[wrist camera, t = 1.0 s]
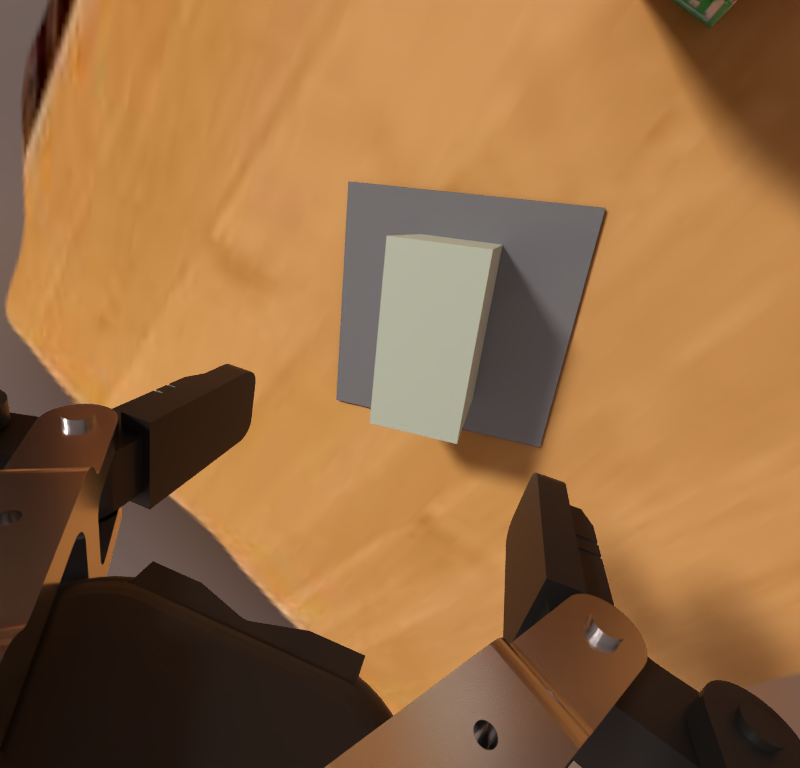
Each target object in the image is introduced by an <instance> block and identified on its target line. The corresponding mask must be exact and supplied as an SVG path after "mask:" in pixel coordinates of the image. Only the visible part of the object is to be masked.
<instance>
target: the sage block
mask: <svg viewBox="0 0 800 768" xmlns="http://www.w3.org/2000/svg"><path fill="white" fill-rule="evenodd" d="M501 250H502V244H495V243H487V242H479V241H471V240H463V239H456V238H448V237H440V236H432V235H424V234H411V235H390V236H387V237H386V248H385V259H384V270H383V281H382V292H381V303H380V314H379V325H378V336H377V347H376V358H375V369H374V380H373V391H372V402H371V413H370V423H372V424H376V425H380V426H384V427H388V428H393V429H397V430H401V431H405V432H409V433H413V434H417V435H421V436H426V437H430V438H434V439H438V440H442V441H446V442H450V443H454V444H457V442H458V439H459V437H460V434H461V431H462V428H463V425H464V422H465V419H466V417H467V414H468V411H469V408H470V405H471V402H472V399H473V395H474V390H475V385H476V379H477V374H478V369H479V364H480V359H481V354H482V348H483V343H484V338H485V333H486V328H487V323H488V317H489V312H490V307H491V302H492V297H493V292H494V286H495V281H496V276H497V271H498V266H499V261H500V255H501Z"/></svg>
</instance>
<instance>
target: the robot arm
mask: <svg viewBox="0 0 800 768" xmlns="http://www.w3.org/2000/svg"><path fill="white" fill-rule="evenodd" d="M254 390H255V375H254V374H253V373H252V372H250V371H247V370H244V369H242V368H239V367H236V366H233V365H230V364H225V365H223V366H220V367H218V368H216V369H214V370H211V371H209V372H207V373H205V374H199V375H194V376H188V377H184V378H182V379H179V380H177V381H175V382H172V383H170V384H169V386H167V385H166V386H163V387H161V388H159V389H157V390H156V392H155V391H152V392H150V393H147V394H145V395H143V396H140V397H138V398H136V399H134V400H131V401H129V402H127V403H124V404H122V405H120V406H117V407H115V408H113V409H110V408H108V407H105V406H101V405H96V404H73V405H67V406H62V407H58V408H54V409H52V410H49V411H47V412H45V413H43V414H42V415H41V416H39V417H36V416H29V415H22V414H16V413H10V412H9V406H8V399H7V395H6V394H5V392H3V391H2V390H0V768H568V767H569V765H570V764H571V763H572V762H573V760H574V761H575V762H576V763H577V764H578V765H580V766H581V767H582V768H800V740H799V738H798V737H797V735H796V734H795V733H794V732H793V730H792V729H791V728H790V727H789V725H788V724H787V723H786V722H785V721H784V720H783V719H782V718H781V717H780V716H779V715H778V714H777V713H776V712H775V711H774V710H773V709H772V708H770V707H769V706H768V705H767V704H766V703H764V702H763V701H762V700H760V699H759V698H758V697H756V696H755V695H753V694H752V693H750V692H748V691H747V690H745V689H743V688H741V687H740V686H738V685H735V684H733V683H730V682H726V681H722V680H715V681H711V682H709V683H708V684H707V685H706V686H705V687H704V688H703V689H702V690H701V691H700V693H699V692H698V691H696V690H695V689H693V688H692V687H690V686H689V685H687V684H686V683H684V682H683V681H681V680H680V679H678V678H677V677H675V676H674V675H672V674H671V673H669V672H668V671H666V670H665V669H663V668H662V667H660V666H659V665H658V664H656V663H655V662H653V661H652V660H651V659H650V658H649V657H648V655H647V648H646V645H645V642H644V640H643V638H642V636H641V634H640V633H639V631H638V630H637V628H636V627H635V626H634V624H633V623H632V622H631V621H630V620H629V619H628V618H627V617H626V616H625V615H624V614H623V613H622V612H621V611H620V610H618V609H617V608H616V607H614V603H613V600H612V596H611V592H610V588H609V584H608V581H607V577H606V573H605V569H604V565H603V562H602V559H600V557H601V554H600V550H599V546H598V545H597V539H596V535H595V531H594V527H593V525H592V524H591V522H590V521H589V520H588V518H587V517H586V516H585V514H584V513H583V511H582V510H581V509H579V508H576V507H573V506H571V505H570V504H569V499H568V494H567V489H566V484H565V483H564V482H561V481H559V480H556V479H553V478H550V477H547V476H544V475H541V474H539V473H534V474H533V475H532V477H531V478H530V481H529V483H528V485H527V487H526V489H525V492H524V494H523V496H522V498H521V500H520V503H519V505H518V507H517V509H516V512H515V514H514V516H513V518H512V521H511V524H510V527H509V530H508V534H507V540H506V565H505V597H504V630H503V638H499V639H497V640H495V641H493V642H492V643H490V644H489V645H488V646H486V647H485V648H484V649H482V650H481V651H480V652H478V653H477V654H476V655H474V656H473V657H472V658H470V659H469V660H468V661H466V662H465V663H463V664H462V665H461V666H459V667H458V668H457V669H455V670H454V671H453V672H451V673H450V674H449V675H447V676H446V677H445V678H443V679H442V680H441V681H439V682H438V683H437V684H435V685H434V686H433V687H431V688H430V689H429V690H427V691H426V692H425V693H423V694H422V695H421V696H419V697H418V698H417V699H415V700H414V701H413V702H411V703H410V704H409V705H407V706H406V707H405V708H403V709H402V710H401V711H399V712H398V713H397V714H395V715H394V716H393V715H392V713H391V711H390V710H389V709H388V707H387V706H386V705H385V703H384V702H383V700H382V699H381V698H380V697H379V696H378V695H377V693H376V692H375V691H374V690H373V689H372V688H371V687H370V686H369V685H368V684H367V683H366V682H365V681H363V680H362V679H361V678H360V677H359V673H360V670H361V667H362V664H363V661H364V658H365V655H362V654H360V653H358V652H356V651H353V650H351V649H349V648H347V647H344V646H342V645H340V644H338V643H335V642H333V641H331V640H329V639H326V638H324V637H322V636H320V635H317V634H315V633H313V632H311V631H306V630H300V629H294V628H288V627H282V626H276V625H270V624H263V623H257V622H251V621H247V620H245V619H243V618H242V617H240V616H239V615H238V614H237V613H236V612H234V611H233V610H232V609H231V608H230V607H229V606H227V605H226V604H225V603H224V602H223V601H222V600H221V599H220V598H218V597H217V596H216V595H215V594H214V593H213V592H211V591H210V590H209V589H208V588H207V587H205V585H203V584H202V583H200V582H198V581H196V580H194V579H191V578H189V577H187V576H185V575H182V574H180V573H178V572H176V571H173V570H171V569H169V568H167V567H164V566H162V565H160V564H158V563H156V562H152V563H151V564H150V565H148V566H147V567H146V568H145V569H144V570H143V571H142V572H141V573H140V574H138V575H137V576H136V577H122V576H110V577H107V572H108V569H109V565H110V561H111V557H112V553H113V549H114V545H115V541H116V537H117V533H118V529H119V526H120V522H121V518H122V506H123V505H125V504H126V503H127V502H129V501H131V502H134V503H136V504H138V505H141V506H143V507H146V508H148V509H151V508H152V507H154V506H155V505H156V504H158V503H159V502H160V501H162V500H163V499H164V498H166V497H167V496H168V495H169V494H171V493H172V492H173V491H175V490H176V489H177V488H179V487H180V486H181V485H183V484H184V483H185V482H187V481H188V480H189V479H191V478H192V477H193V476H195V475H196V474H197V473H199V472H200V471H201V470H203V469H204V468H205V467H207V466H208V465H209V464H210V463H212V462H213V461H214V460H216V459H217V458H218V457H220V456H221V455H222V454H224V453H225V452H226V451H228V450H229V449H230V448H232V447H233V446H234V445H236V444H237V443H238V442H240V441H241V440H242V439H243V438H244V436H245V435H246V433H247V431H248V429H249V427H250V423H251V417H252V408H253V399H254Z"/></svg>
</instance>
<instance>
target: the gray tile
mask: <svg viewBox="0 0 800 768" xmlns="http://www.w3.org/2000/svg"><path fill="white" fill-rule="evenodd" d="M604 212H605V208H601V207H591V206H581V205H572V204H562V203H552V202H542V201H533V200H523V199H513V198H504V197H494V196H484V195H474V194H465V193H455V192H445V191H435V190H426V189H416V188H406V187H396V186H387V185H377V184H367V183H357V182H348V200H347V218H346V236H345V254H344V273H343V291H342V309H341V327H340V345H339V363H338V381H337V399H336V400H339V401H343V402H348V403H352V404H356V405H361V406H365V407H369V408H371V402H372V391H373V380H374V369H375V358H376V347H377V336H378V325H379V314H380V303H381V292H382V281H383V270H384V259H385V248H386V237H387V236H390V235H411V234H424V235H432V236H440V237H448V238H456V239H463V240H471V241H479V242H487V243H495V244H502V250H501V255H500V261H499V266H498V271H497V276H496V281H495V286H494V292H493V297H492V302H491V307H490V312H489V317H488V323H487V328H486V333H485V338H484V343H483V348H482V354H481V359H480V364H479V369H478V374H477V379H476V385H475V390H474V395H473V399H472V402H471V405H470V408H469V411H468V414H467V417H466V419H465V422H464V425H463V428H462V429H463V430H467V431H472V432H476V433H480V434H484V435H489V436H493V437H497V438H502V439H506V440H510V441H514V442H519V443H523V444H527V445H531V446H536V447H540V445H541V441H542V437H543V434H544V430H545V426H546V423H547V419H548V415H549V412H550V408H551V405H552V401H553V397H554V394H555V390H556V386H557V383H558V379H559V375H560V372H561V368H562V365H563V361H564V357H565V354H566V350H567V346H568V343H569V339H570V335H571V332H572V328H573V325H574V321H575V317H576V314H577V310H578V306H579V303H580V299H581V295H582V292H583V288H584V284H585V281H586V277H587V274H588V270H589V266H590V263H591V259H592V255H593V252H594V248H595V244H596V241H597V237H598V234H599V230H600V226H601V223H602V219H603V215H604Z"/></svg>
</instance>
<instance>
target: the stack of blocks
mask: <svg viewBox="0 0 800 768" xmlns="http://www.w3.org/2000/svg"><path fill="white" fill-rule="evenodd" d="M673 1H675V2H676V3H677V4H679V5H680V6H681V7H683V8H684V9H686V10H687V11H688V12H690V13H691V14H692V15H694V16H695V17H697V18H698V19H699V20H701V21H702V22H704V23H705V24H706V25H707V26H709V27H712V26H713V25H714V24H715V23H716V22H717V21H718V20H719V19H720V18H721V17H722V16H723V15H724V14H725V13H726V12H727V11H728V10H729V9H730V8H731V7H732V6H733V5H734V4H735V3H736V2H737V1H738V0H673Z"/></svg>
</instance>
